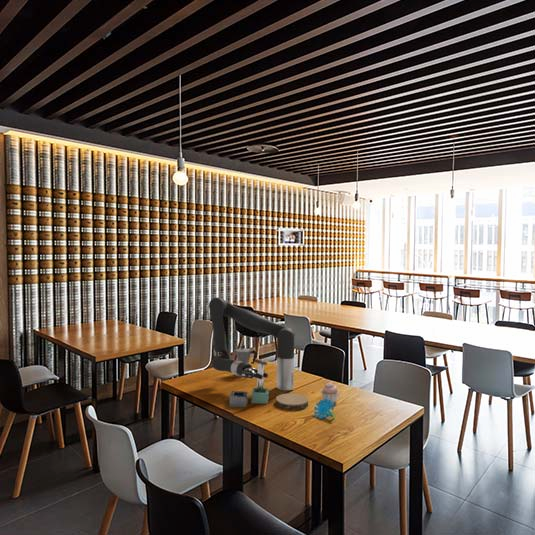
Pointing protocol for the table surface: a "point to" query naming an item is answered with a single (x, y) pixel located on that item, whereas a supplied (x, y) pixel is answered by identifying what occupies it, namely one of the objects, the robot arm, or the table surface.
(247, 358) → the coffeepot
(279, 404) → the wood slice
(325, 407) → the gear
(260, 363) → the chuck key
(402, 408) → the table surface
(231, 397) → the chuck block
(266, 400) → the key holder
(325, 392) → the cupcake
